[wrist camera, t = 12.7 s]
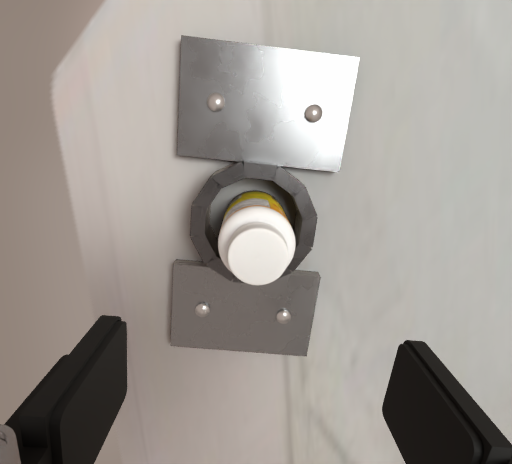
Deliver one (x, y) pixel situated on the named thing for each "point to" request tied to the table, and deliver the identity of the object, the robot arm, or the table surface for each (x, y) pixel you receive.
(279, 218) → the supplement bottle
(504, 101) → the table surface
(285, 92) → the ring mounting bracket
